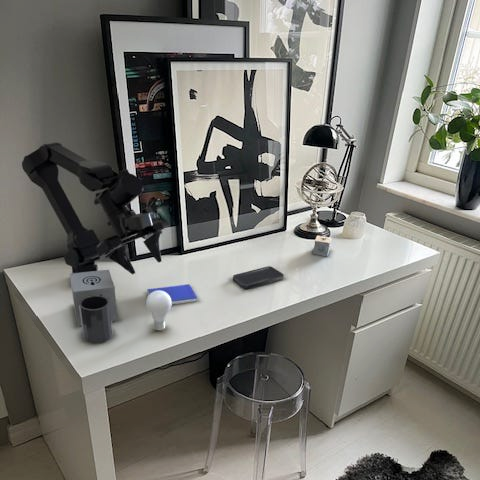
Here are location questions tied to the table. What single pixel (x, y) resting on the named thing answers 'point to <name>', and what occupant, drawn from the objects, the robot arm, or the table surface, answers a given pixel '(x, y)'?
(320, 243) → the dice cube
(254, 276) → the phone
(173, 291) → the hard drive
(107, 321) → the pen cup
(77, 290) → the icon cube
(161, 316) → the lightbulb
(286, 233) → the table surface
